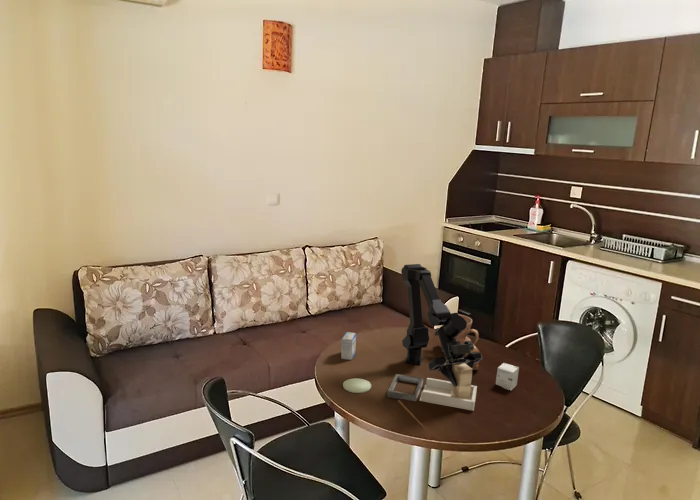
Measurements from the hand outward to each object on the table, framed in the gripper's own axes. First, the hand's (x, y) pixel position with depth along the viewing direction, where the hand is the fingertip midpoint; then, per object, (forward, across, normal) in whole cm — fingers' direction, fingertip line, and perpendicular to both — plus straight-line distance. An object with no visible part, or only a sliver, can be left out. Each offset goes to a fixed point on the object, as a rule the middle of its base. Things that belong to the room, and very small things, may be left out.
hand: (463, 385), depth 173 cm
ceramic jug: (-23, +23, +33) cm, 46 cm away
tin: (-13, +20, +22) cm, 33 cm away
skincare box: (+1, +23, +9) cm, 25 cm away
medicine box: (-29, -23, +38) cm, 53 cm away
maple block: (+3, 0, +5) cm, 6 cm away
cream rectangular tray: (+2, -3, +7) cm, 8 cm away
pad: (-11, -30, +20) cm, 37 cm away
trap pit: (-5, -15, +14) cm, 21 cm away
